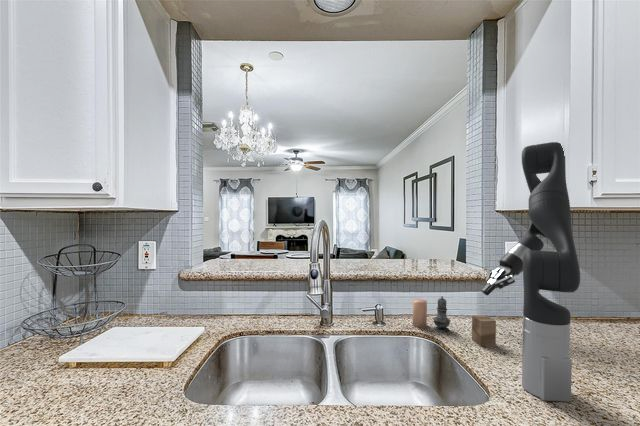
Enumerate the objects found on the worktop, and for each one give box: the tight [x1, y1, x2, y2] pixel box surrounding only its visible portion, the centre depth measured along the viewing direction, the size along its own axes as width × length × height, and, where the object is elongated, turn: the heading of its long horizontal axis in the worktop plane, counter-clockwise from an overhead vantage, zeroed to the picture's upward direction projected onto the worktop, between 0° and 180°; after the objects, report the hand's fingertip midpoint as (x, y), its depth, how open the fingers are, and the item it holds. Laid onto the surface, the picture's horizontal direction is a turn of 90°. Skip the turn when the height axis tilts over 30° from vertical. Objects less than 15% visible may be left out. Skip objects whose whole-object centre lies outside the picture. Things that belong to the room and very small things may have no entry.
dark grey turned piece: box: [432, 295, 452, 333], centre depth 116 cm, size 6×6×12 cm
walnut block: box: [471, 314, 497, 347], centre depth 105 cm, size 5×5×8 cm
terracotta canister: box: [412, 298, 428, 329], centre depth 120 cm, size 5×5×9 cm
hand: (484, 293), depth 117 cm, fingers closed
